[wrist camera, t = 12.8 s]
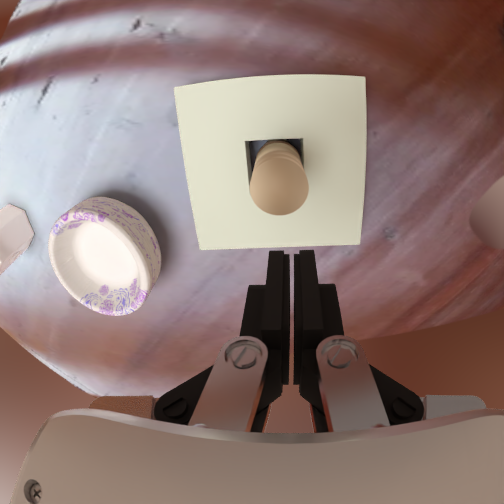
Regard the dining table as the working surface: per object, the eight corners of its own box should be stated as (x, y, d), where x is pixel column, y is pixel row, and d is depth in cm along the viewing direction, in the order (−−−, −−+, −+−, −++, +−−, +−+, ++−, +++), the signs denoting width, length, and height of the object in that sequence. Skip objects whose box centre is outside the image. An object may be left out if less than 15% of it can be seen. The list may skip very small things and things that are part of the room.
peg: (296, 133, 29) (309, 158, 19) (297, 171, 31) (309, 215, 21) (256, 135, 30) (246, 160, 19) (259, 172, 32) (251, 217, 22)
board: (354, 78, 25) (365, 76, 22) (351, 228, 34) (359, 244, 31) (185, 87, 27) (173, 87, 24) (207, 233, 36) (199, 249, 33)
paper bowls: (118, 164, 32) (83, 186, 25) (191, 253, 38) (174, 291, 31) (62, 225, 37) (31, 252, 31) (124, 295, 43) (104, 330, 37)
